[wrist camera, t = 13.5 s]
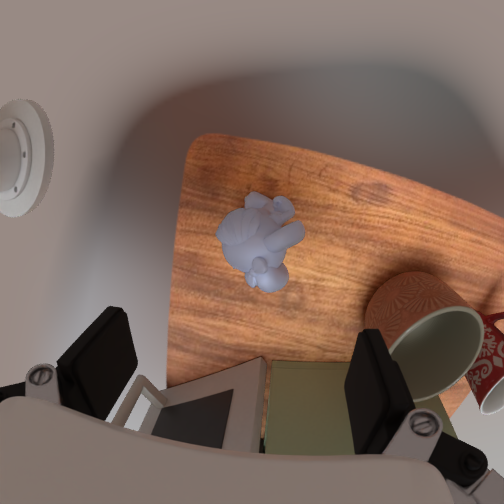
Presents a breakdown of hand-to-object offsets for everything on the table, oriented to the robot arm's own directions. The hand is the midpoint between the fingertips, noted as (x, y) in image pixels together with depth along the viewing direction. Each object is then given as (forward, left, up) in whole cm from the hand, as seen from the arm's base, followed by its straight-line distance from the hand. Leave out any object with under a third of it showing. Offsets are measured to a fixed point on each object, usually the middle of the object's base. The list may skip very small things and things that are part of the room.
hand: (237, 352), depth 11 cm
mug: (+32, -13, -22) cm, 40 cm away
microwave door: (-9, -22, -21) cm, 32 cm away
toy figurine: (0, 0, -22) cm, 22 cm away
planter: (+18, -10, -22) cm, 30 cm away
